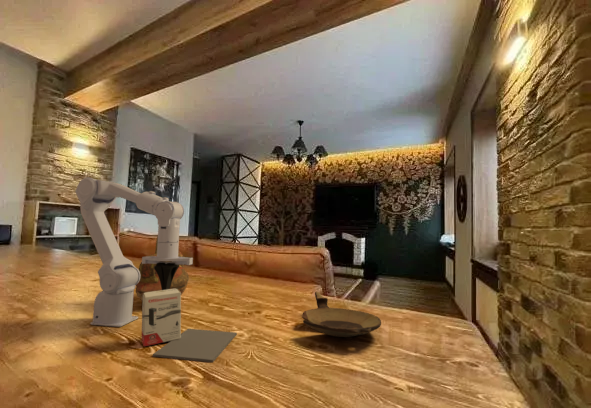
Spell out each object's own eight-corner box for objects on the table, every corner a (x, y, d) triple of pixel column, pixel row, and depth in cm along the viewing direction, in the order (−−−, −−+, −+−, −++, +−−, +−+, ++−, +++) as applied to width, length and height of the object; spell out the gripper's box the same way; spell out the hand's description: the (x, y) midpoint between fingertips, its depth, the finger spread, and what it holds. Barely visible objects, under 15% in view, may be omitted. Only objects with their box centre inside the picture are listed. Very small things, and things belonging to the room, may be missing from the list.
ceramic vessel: (201, 295, 117) (205, 234, 119) (164, 315, 91) (169, 236, 93) (163, 292, 119) (167, 233, 121) (116, 310, 94) (122, 234, 96)
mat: (152, 356, 63) (152, 354, 63) (188, 330, 79) (188, 328, 79) (212, 362, 61) (213, 359, 62) (236, 334, 77) (236, 332, 77)
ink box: (143, 347, 67) (144, 296, 68) (141, 340, 71) (141, 292, 72) (181, 338, 72) (181, 290, 73) (177, 333, 76) (177, 287, 77)
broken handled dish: (299, 349, 70) (300, 317, 70) (302, 312, 99) (303, 290, 100) (392, 355, 68) (392, 322, 69) (367, 315, 98) (367, 293, 99)
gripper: (198, 242, 87) (196, 287, 85) (153, 241, 88) (150, 285, 87) (186, 243, 80) (184, 292, 78) (138, 242, 81) (135, 290, 80)
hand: (165, 289), depth 82 cm, fingers closed
